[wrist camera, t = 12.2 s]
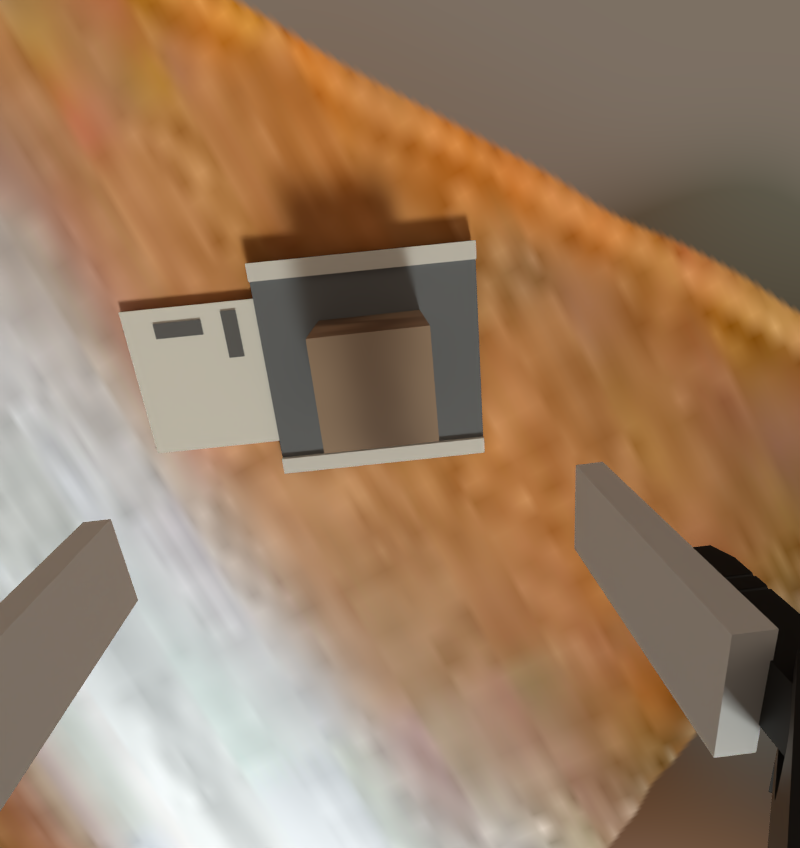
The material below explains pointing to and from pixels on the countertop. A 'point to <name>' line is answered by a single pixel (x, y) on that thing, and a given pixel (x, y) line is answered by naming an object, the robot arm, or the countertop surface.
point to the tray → (360, 296)
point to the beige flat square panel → (201, 375)
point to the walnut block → (373, 381)
